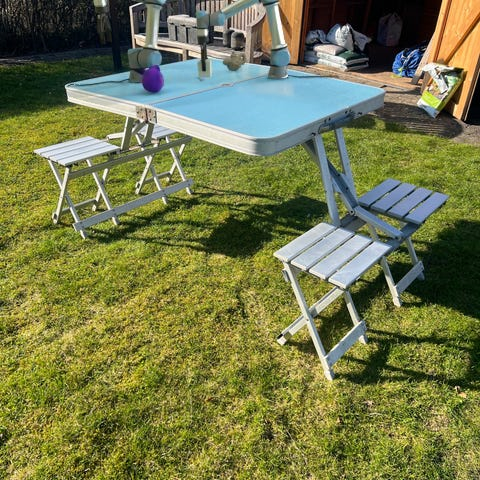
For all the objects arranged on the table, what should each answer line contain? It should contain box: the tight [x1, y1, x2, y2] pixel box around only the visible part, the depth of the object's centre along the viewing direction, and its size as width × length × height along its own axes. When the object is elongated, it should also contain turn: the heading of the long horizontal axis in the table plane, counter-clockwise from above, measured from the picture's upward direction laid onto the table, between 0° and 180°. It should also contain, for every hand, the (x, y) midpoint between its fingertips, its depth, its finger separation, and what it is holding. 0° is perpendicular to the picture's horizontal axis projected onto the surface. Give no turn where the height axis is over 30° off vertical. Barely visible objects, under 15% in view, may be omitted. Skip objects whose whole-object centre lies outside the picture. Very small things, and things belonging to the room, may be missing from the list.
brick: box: [197, 59, 213, 78], centre depth 322 cm, size 8×9×11 cm
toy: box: [134, 65, 165, 94], centre depth 304 cm, size 16×18×27 cm
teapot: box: [222, 50, 247, 72], centre depth 365 cm, size 21×12×15 cm, turn 120°
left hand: (106, 42), depth 291 cm, fingers open, 13 cm apart
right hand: (204, 70), depth 322 cm, fingers closed on brick, 8 cm apart
